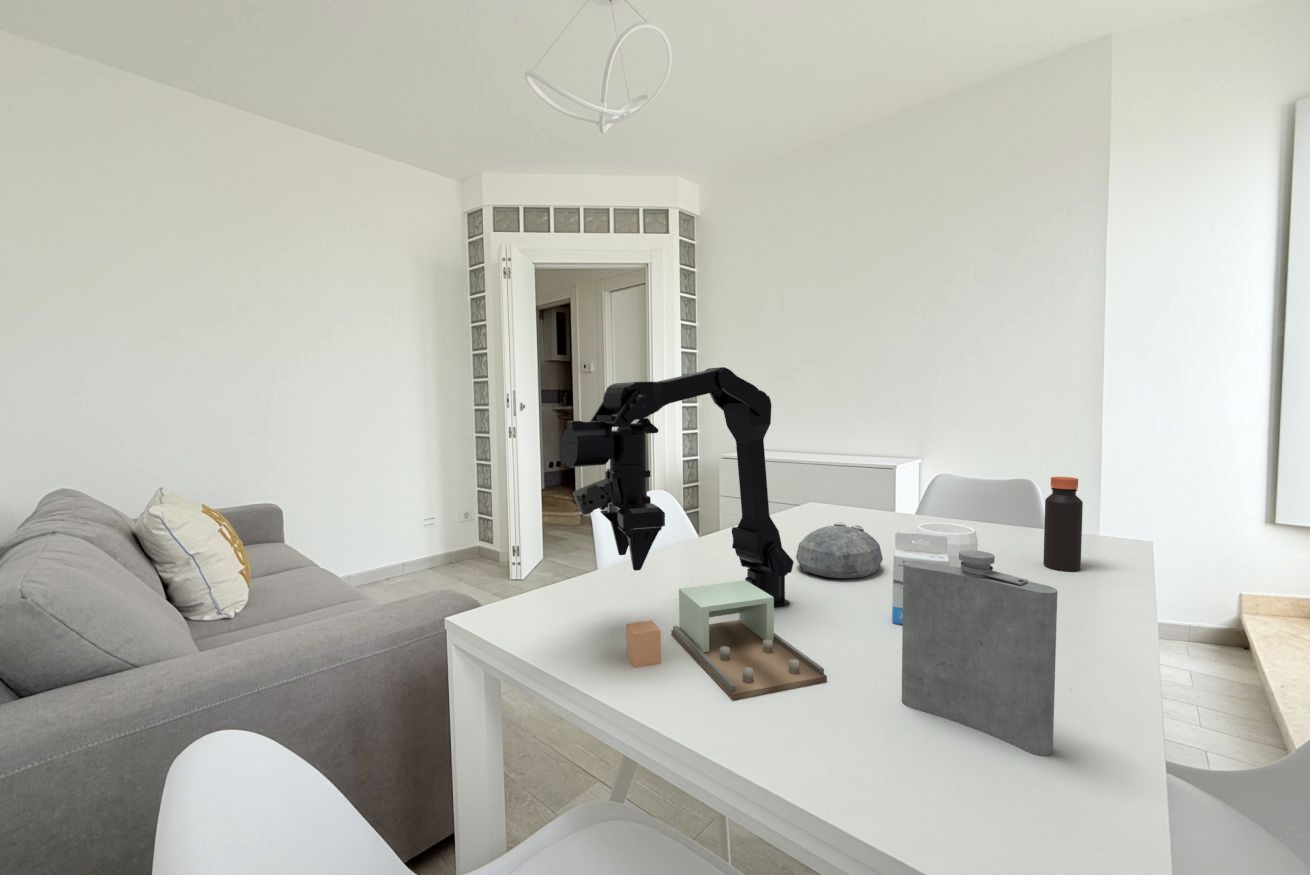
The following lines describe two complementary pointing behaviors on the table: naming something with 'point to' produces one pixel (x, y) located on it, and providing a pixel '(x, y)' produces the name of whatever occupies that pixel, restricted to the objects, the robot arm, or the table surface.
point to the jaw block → (643, 643)
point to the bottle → (1063, 525)
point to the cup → (950, 538)
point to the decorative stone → (839, 552)
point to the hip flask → (981, 649)
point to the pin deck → (751, 661)
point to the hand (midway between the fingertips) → (629, 562)
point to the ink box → (913, 552)
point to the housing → (724, 609)
